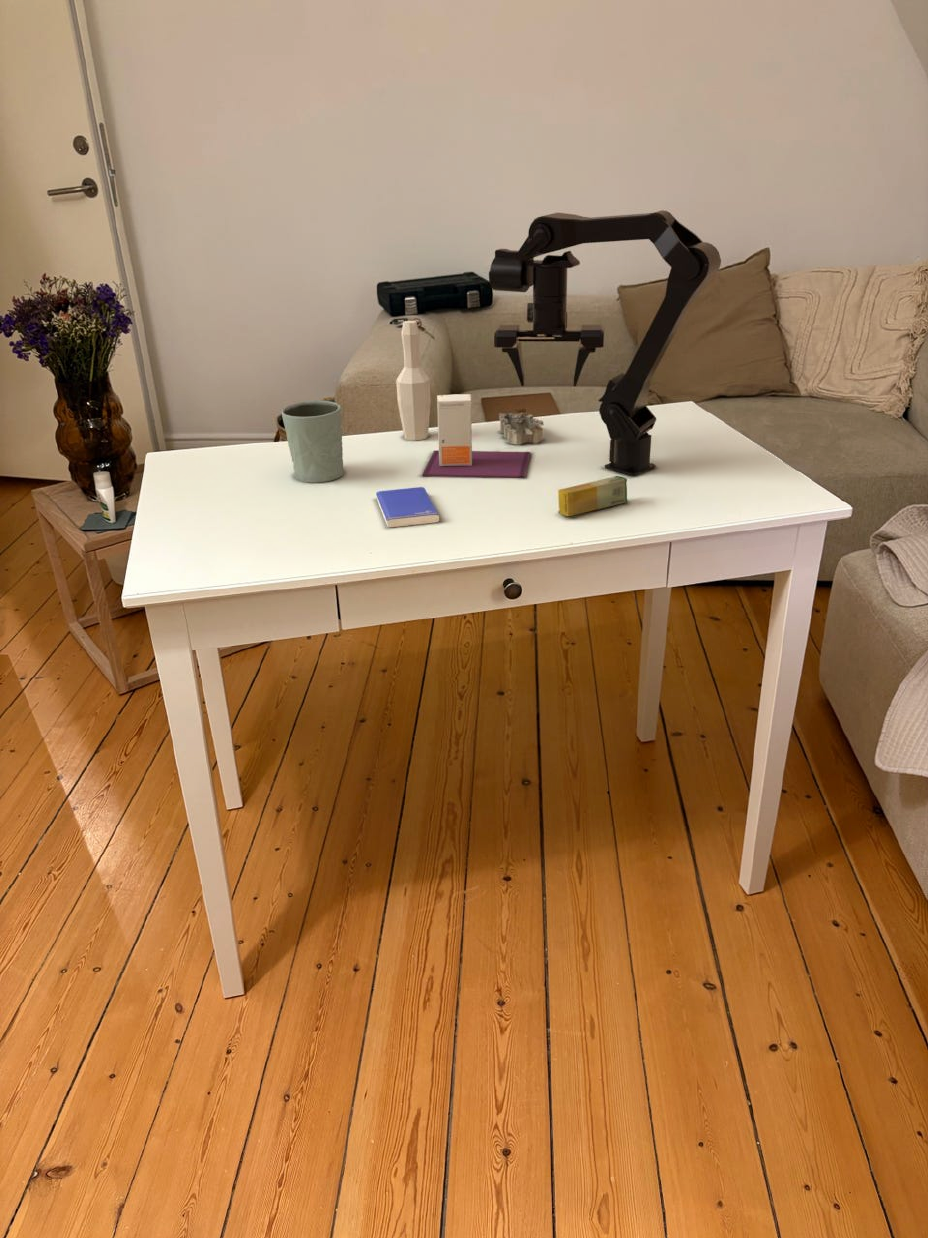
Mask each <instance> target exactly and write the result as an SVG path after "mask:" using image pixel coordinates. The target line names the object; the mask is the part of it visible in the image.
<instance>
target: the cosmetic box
mask: <svg viewBox="0 0 928 1238" xmlns="http://www.w3.org/2000/svg"><path fill="white" fill-rule="evenodd" d="M436 404H437V405H436V406H437V435H438V436H437V439H438V440H437V441H438V442H437V443H438V444H437V445H438V451H439V466H472V451H473V437H472V436H473V435H472V431H473V429H472V395H471V394H470V393H467V394H466V393H465V394H464V393H463V394H458V393H457V394H456V393H454V394H437V395H436Z"/></svg>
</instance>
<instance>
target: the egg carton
mask: <svg viewBox="0 0 928 1238" xmlns="http://www.w3.org/2000/svg"><path fill="white" fill-rule="evenodd" d="M498 418H499V429H500V430H499V432H500V433H501V434H503V438H504V439H507V443H508V444H510V445H516V446H518V445H522V444H524V443H532V444H539V443H540V442H542V441H543V439H544V429H543V427H542V426H544V425H545V424H544V420H542V419H539V418H536V417H534V416H533V415H532V414H531V413H528V415H524V413H523V412H520V413H519V414H518V413H510V412H509V413H502V412H498Z"/></svg>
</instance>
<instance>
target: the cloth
mask: <svg viewBox="0 0 928 1238" xmlns="http://www.w3.org/2000/svg"><path fill="white" fill-rule="evenodd" d="M530 457H531V451H489V450H488V451H486V450H484V451H483V450H472V466H439V450H434V451H433V453H432V454H431V456H430V458H429V460H428V462H427V464H426V466H425V468H424V470H423V472H422V475H421V476H422V477H438V478H439V477H442V478H443V477H444V478H446V477H448V478H449V477H450V478H494V479H495V478H497V479H499V478H502V479H504V478H506V479H525V478H526V475H527V471H528V466H529V462H530Z"/></svg>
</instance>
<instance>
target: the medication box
mask: <svg viewBox="0 0 928 1238" xmlns="http://www.w3.org/2000/svg"><path fill="white" fill-rule="evenodd" d="M627 482H628V479H627V477H623V476H619V475H616V476H611V477H606V478H603V479H599V480H595V481H589V482H586V483H582V484H578V485H574V486H570V487H569V486H568V487H564V488H561V489H560V488H559V489H558V490H557V494H558V497H557V498H558V514H559V515H563V516H565V517H571V516H577V515H580V514H584V513H587V512H592V511H596V510H597V511H598V510H600V509H604V508H609V507H612V506H617V505H621V504H624V503H625V504H627V503H628V485H627Z"/></svg>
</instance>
